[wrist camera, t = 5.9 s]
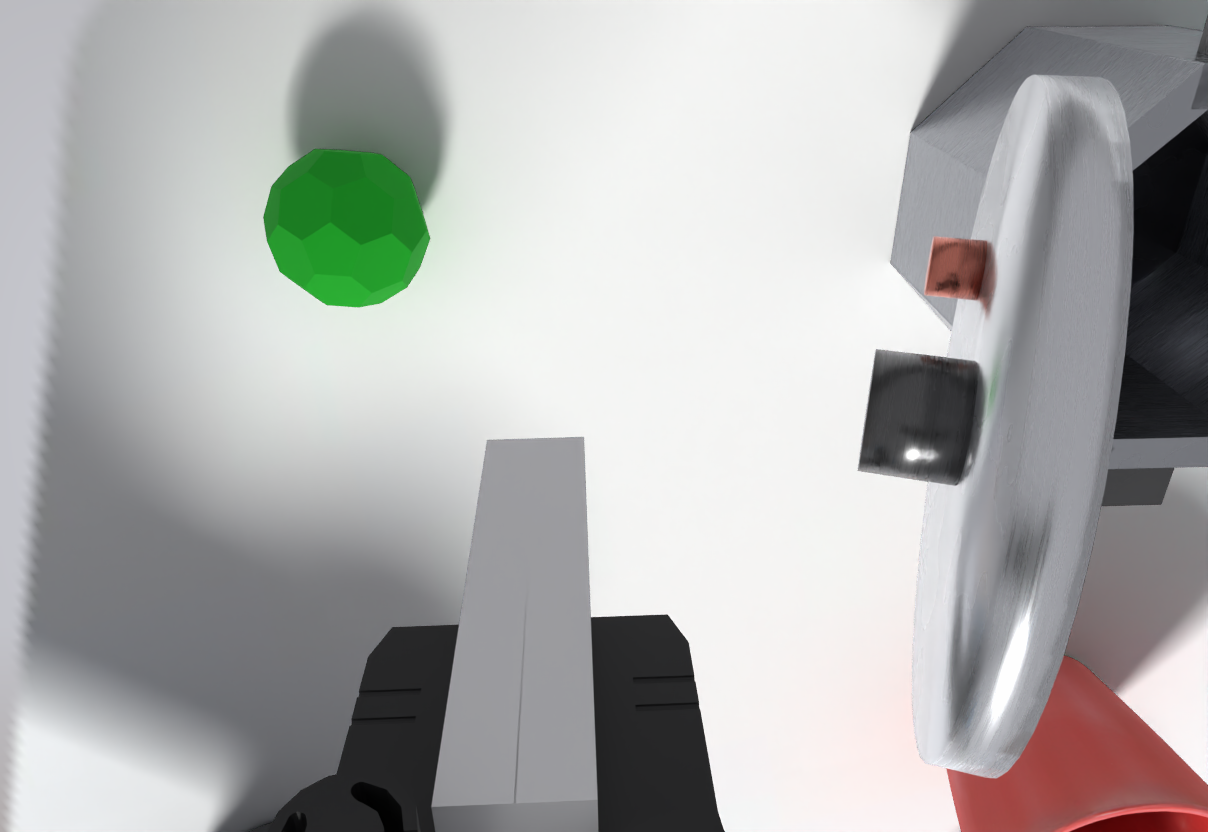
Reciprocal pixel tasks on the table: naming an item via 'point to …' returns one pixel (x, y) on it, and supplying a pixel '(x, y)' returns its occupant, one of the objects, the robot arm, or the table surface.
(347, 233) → the polyhedron
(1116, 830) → the flower pot
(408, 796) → the robot arm
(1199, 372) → the pot
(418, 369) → the table surface
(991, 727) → the lid
